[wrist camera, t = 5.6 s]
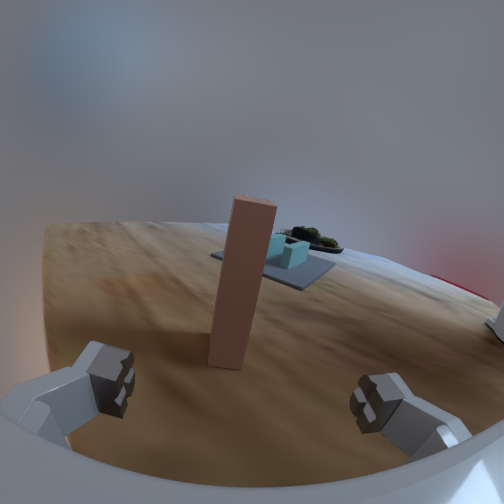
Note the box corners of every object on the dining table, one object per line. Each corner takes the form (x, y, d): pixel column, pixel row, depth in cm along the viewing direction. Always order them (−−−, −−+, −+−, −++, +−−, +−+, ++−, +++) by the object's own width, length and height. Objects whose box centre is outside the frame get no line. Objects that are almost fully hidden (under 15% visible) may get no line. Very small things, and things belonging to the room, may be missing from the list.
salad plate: (271, 229, 82) (274, 214, 81) (326, 240, 84) (330, 226, 83) (279, 245, 64) (283, 225, 62) (348, 258, 65) (353, 240, 64)
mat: (267, 242, 62) (267, 241, 61) (335, 265, 54) (335, 263, 54) (211, 255, 44) (211, 253, 44) (302, 290, 37) (302, 287, 37)
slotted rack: (275, 250, 55) (279, 233, 54) (305, 260, 52) (310, 242, 51) (253, 257, 47) (257, 237, 46) (287, 269, 44) (292, 248, 43)
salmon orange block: (241, 369, 19) (277, 206, 16) (207, 365, 19) (234, 198, 16) (239, 337, 23) (267, 199, 20) (210, 333, 23) (234, 193, 20)
